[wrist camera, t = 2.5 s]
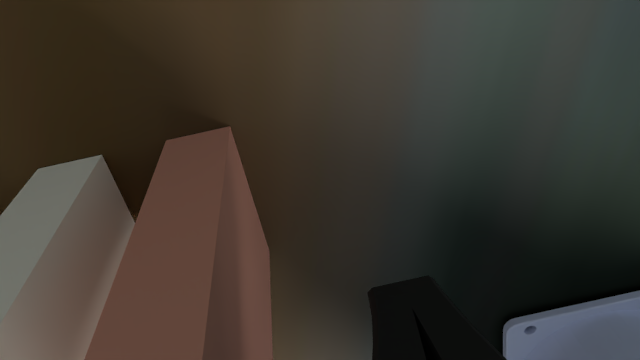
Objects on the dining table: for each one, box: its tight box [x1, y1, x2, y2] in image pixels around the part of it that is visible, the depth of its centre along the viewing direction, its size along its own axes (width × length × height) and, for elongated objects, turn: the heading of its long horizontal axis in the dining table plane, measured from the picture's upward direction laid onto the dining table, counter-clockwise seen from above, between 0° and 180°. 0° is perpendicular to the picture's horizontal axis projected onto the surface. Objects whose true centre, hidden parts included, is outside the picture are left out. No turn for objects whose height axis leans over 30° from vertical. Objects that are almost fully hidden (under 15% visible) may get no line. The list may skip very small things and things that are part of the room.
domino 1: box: [0, 155, 135, 360], centre depth 12 cm, size 2×5×9 cm, turn 11°
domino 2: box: [84, 126, 273, 360], centre depth 12 cm, size 2×5×9 cm, turn 11°
